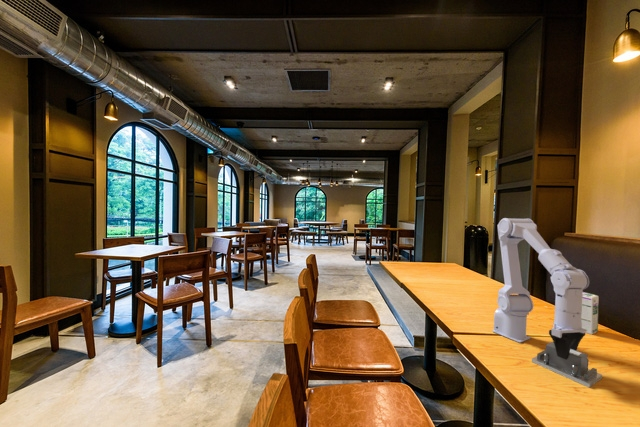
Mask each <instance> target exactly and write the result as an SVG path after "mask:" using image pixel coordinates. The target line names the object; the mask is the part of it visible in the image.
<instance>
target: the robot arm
mask: <svg viewBox="0 0 640 427" xmlns="http://www.w3.org/2000/svg"><path fill="white" fill-rule="evenodd" d="M497 235H498V240H499V244H500V245H499V247H500V252H501V254H500V255H501V264H502V272H503V280H504V285H503V286H502V287H501V288H500V289H499V290H498V291H497V293H498V297H497V301H496V303H497V306H498V307H497V308H496V310H495V311H494V314H493V329H492V332H493V333H495V334H498V335H499V336H502V337H505V338H507V339H510V340H512V341H514V342H517V343H523V342H525V341H528V340H531V339H532V336H530V335H527V320H528V319H527V317H528V316H529V315H530V312H532V311H533V309H534V302H533V299H532V298H531V293H530V291H529V290H528V289H526V288H525V287H524V286H523V281H522V280H523V279H522V272H521V265H520V258H519V256H520V254H519V249H518V248H519V247H518V244H519V243H520V242H521V241H523V240H525V241H526V242H527V243H528V244H529V246H530V247H532V249H534V250H535V251H536V253H537V254H538V257H537V259H538V261H539V262H540V263H541V265H543V267H544V268H545V269H546V270H547V271H548V273H549V274H550V275H551V276H550V281H551V283H552V284H551V285H552V286H553V291H554V293H555V300H554V302H555V303H554V321H553V327H552V328H551V329H550V330H548V335H549V337H551V340H552V342H554V345H555V348H556V353H557V356H558V357H561V358H563V359H566V360H567V359H568V356H569V353H570V348H571V349H574V350H576V351H578V348H579V345H580V343H581V341H582V339H583V338H585V336H586V334H587V333H586V332H587V330H586V329H583V328H582V322H581V316H582V295H583V292H584V290H585V289H587V288H588V287H589V285H590V278H589V276H588V275H587V273H586V272H585V271H584V270H582V269H580V268H577V267H575V266H573V265H572V264H571V263H570V262H569V261H568V260H567V259H566V257H564V256H563V253H562V252H561V251H560V250H558V249H555V248H554V249H552V248H550V246H549V245H548V243H547V242H546V240H544V238H543V237H542V236H541V234H540V232H538V226H537V224H536V223H535V222H534V220H532V219H531V218H507V217H504V218H502V219H501V220H499V222H498V224H497Z"/></svg>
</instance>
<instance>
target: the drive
mask: <svg viewBox="0 0 640 427" xmlns="http://www.w3.org/2000/svg"><path fill="white" fill-rule="evenodd" d="M545 350H546V353H548V354H549V363H551V364H553V365H556V366H558V367H560V368H563V369H565V370H567V371H570V372H572V364H575V365H577V366H578V375H579V376H581V375H583V374H584V373H586V372H587V359H588V354H587V353H584V352H581V351H579V350H577V351H576V350H574V349H571V348H570V353H569V356H568V359H567V360H566V359H563V358H561V357H558V356H557V353H556V348H555V345H554V342H553V341H551V342H549V343H547V344H546V345H545Z"/></svg>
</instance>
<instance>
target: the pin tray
mask: <svg viewBox="0 0 640 427" xmlns="http://www.w3.org/2000/svg"><path fill="white" fill-rule="evenodd" d="M531 363H534V364H536V365H538V366H541V367H542V368H545V369H547V370H549V371H551V372H554V373H556V374H558V375H560V376H563V377H564V378H566V379H569V380H571V381H573V382H576V383H578V384H580V385H583V386H584V387H587V388H591V387H593V386H594V385H595V384H597V383H598V382H599V381H600V380H602V379H603V374H602V373H599V372H598V369H597V368H594V367H592V368H591V369H590V368H589V358H587V372H586V373H584V374H583V375H581V376H579V375H578V366H577V365H575V364H572V372H570V371H567V370H565V369H563V368H560V367H558V366H556V365H553V364H551V363H549V354H548V353H546V349H544V350H542V351H540V352H537V354H536V356H535V357H532V358H531Z"/></svg>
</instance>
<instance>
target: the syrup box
mask: <svg viewBox="0 0 640 427" xmlns="http://www.w3.org/2000/svg"><path fill="white" fill-rule="evenodd" d="M599 298H600V297H599V295H597V294H594V293H589V292H584V291H583V295H582V316H581V322H582V328H583V329H586V330H587V332H586V333H585V334H588V335H594V334H596V333H597V332H599V300H600V299H599Z"/></svg>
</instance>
